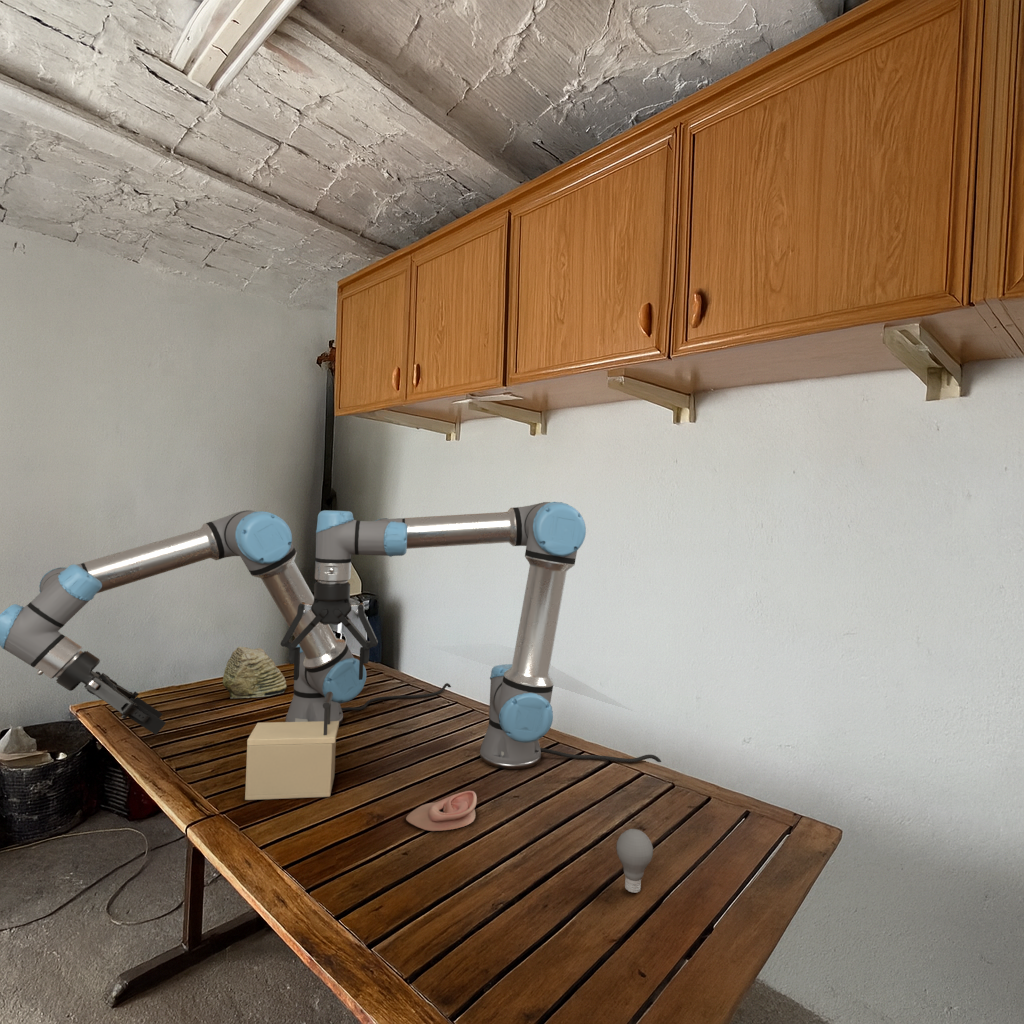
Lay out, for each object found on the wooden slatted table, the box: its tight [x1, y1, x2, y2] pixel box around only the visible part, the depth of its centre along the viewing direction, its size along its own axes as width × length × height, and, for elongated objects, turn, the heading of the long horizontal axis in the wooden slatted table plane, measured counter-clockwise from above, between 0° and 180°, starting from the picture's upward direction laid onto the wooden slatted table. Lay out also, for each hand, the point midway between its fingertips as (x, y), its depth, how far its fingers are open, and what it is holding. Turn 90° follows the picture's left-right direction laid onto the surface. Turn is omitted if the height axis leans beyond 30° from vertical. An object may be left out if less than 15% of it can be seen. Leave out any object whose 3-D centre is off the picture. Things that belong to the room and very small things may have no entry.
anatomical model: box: [405, 790, 478, 832], centre depth 127 cm, size 13×4×12 cm
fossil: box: [222, 646, 288, 699], centre depth 198 cm, size 9×18×15 cm, turn 132°
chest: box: [244, 739, 337, 801], centre depth 137 cm, size 17×10×11 cm, turn 101°
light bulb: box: [615, 828, 654, 894], centre depth 106 cm, size 6×6×10 cm
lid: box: [246, 692, 340, 745], centre depth 137 cm, size 18×10×8 cm, turn 101°
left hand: (159, 723), depth 134 cm, fingers open, 13 cm apart
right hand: (328, 678), depth 138 cm, fingers open, 13 cm apart
